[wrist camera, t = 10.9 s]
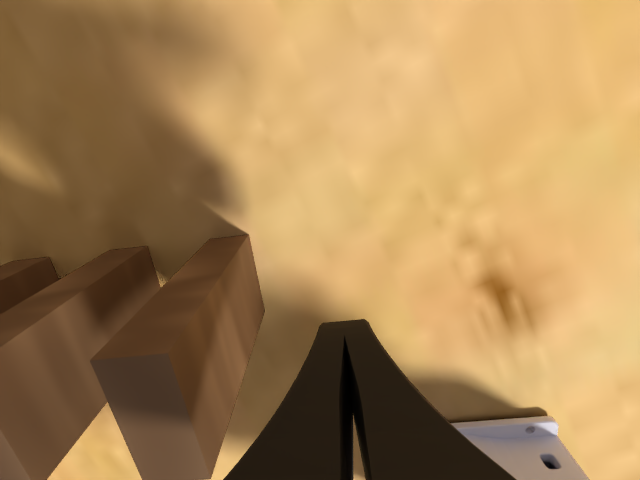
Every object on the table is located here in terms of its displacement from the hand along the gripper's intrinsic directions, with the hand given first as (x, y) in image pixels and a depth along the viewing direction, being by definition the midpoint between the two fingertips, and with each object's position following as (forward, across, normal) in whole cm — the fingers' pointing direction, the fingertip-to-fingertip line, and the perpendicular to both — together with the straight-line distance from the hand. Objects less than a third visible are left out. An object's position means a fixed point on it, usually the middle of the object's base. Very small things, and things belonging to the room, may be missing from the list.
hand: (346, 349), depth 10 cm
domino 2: (+6, +10, 0) cm, 11 cm away
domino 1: (+6, +5, 0) cm, 8 cm away
